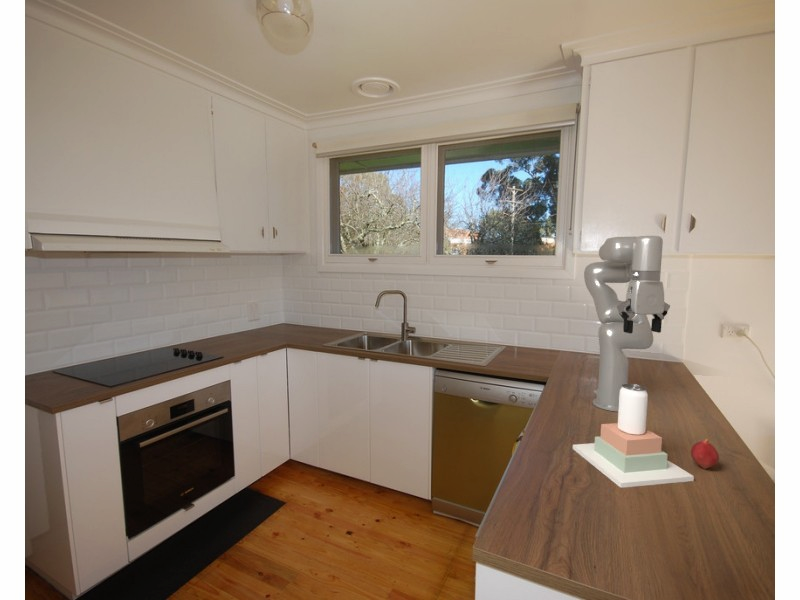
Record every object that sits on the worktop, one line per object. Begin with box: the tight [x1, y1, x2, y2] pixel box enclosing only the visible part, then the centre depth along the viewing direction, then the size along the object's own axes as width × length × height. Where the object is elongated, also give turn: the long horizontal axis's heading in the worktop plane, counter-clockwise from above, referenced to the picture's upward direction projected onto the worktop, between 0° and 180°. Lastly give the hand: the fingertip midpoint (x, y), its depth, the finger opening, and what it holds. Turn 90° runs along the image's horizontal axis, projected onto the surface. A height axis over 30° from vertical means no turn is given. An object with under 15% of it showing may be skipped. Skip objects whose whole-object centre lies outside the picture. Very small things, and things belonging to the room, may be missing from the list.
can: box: [617, 383, 649, 435], centre depth 106 cm, size 6×6×12 cm
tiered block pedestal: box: [572, 422, 695, 489], centre depth 107 cm, size 20×20×9 cm
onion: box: [690, 439, 720, 470], centre depth 104 cm, size 6×6×8 cm
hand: (641, 332), depth 123 cm, fingers open, 9 cm apart
